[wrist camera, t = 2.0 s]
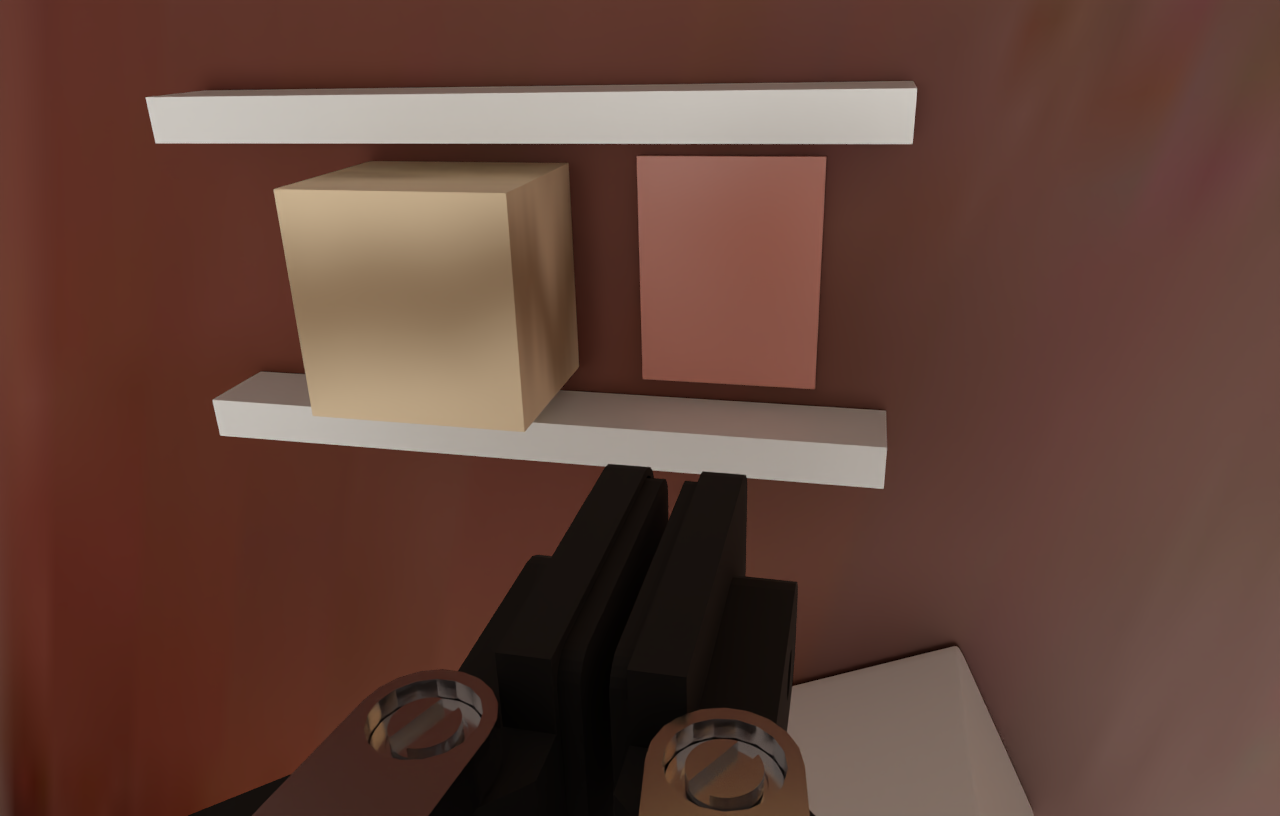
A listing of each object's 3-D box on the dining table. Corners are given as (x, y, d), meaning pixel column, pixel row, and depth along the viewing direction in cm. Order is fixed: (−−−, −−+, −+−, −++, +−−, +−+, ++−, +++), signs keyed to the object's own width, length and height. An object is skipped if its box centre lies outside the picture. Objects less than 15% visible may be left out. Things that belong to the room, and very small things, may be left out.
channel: (883, 449, 27) (883, 488, 24) (267, 405, 31) (220, 435, 29) (913, 81, 23) (917, 87, 21) (205, 90, 27) (145, 97, 25)
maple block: (580, 365, 28) (524, 432, 24) (398, 354, 29) (312, 415, 25) (570, 162, 26) (506, 193, 21) (373, 160, 27) (273, 189, 23)
